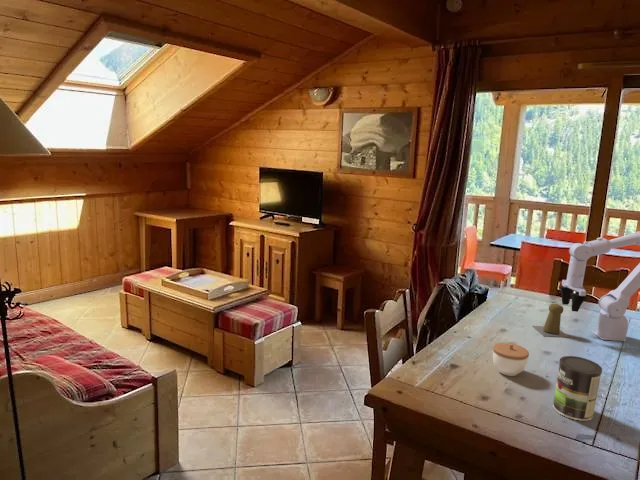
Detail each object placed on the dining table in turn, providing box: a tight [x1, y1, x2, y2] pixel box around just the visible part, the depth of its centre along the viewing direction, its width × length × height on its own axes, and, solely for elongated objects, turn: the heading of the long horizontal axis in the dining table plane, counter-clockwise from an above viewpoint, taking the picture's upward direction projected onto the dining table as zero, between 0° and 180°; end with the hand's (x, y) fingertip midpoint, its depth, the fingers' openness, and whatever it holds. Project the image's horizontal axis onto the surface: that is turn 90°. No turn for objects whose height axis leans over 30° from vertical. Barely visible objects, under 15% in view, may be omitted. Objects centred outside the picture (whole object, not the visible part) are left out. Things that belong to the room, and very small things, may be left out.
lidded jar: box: [492, 342, 530, 377], centre depth 153 cm, size 11×11×9 cm
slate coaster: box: [532, 325, 570, 338], centre depth 190 cm, size 10×10×1 cm
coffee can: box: [552, 355, 603, 422], centre depth 131 cm, size 10×10×14 cm
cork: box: [543, 303, 564, 334], centre depth 188 cm, size 6×6×11 cm
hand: (569, 307), depth 187 cm, fingers open, 7 cm apart
